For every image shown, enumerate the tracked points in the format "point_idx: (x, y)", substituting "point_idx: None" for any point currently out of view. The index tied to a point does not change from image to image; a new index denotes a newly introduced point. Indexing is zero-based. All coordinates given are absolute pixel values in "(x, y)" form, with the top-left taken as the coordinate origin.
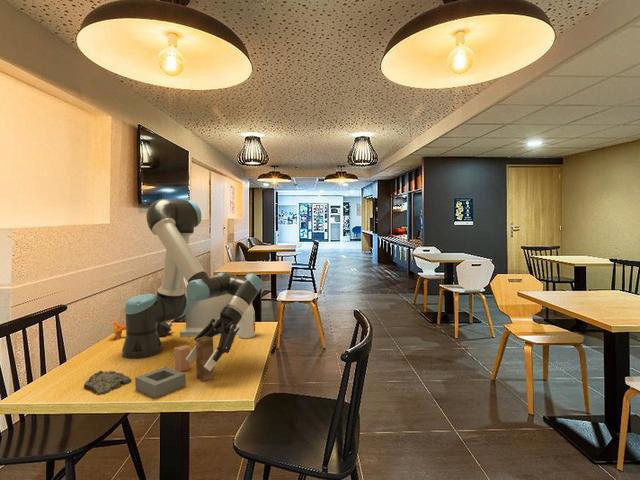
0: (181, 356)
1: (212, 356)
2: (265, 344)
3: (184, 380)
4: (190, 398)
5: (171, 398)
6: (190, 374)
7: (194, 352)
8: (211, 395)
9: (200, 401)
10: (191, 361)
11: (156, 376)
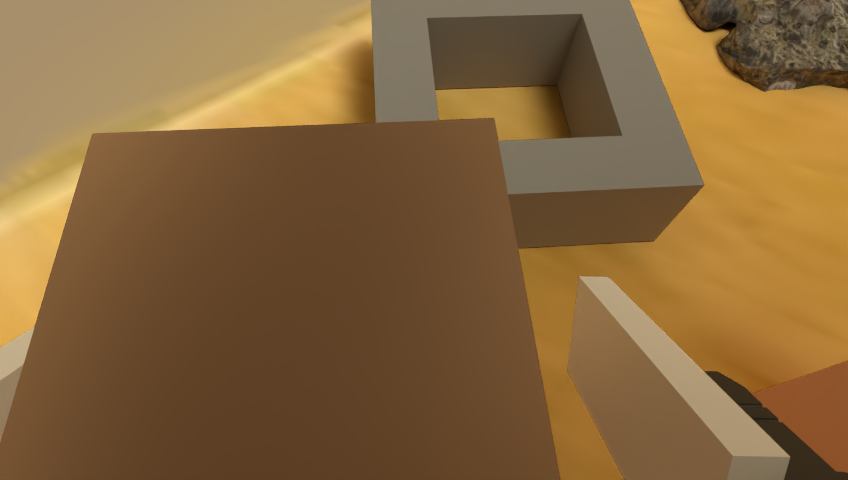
0: (844, 368)
1: (4, 346)
2: None
3: None
4: None
5: (286, 103)
6: (591, 424)
7: (627, 387)
8: (45, 273)
9: (63, 176)
10: (573, 360)
11: (593, 101)
